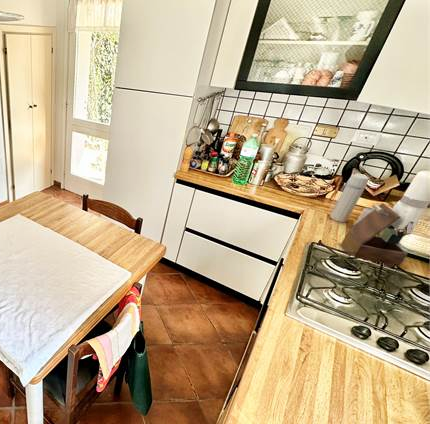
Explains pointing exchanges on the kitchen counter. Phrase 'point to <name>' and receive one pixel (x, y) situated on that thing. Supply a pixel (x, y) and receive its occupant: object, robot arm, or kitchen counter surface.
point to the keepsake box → (374, 250)
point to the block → (388, 234)
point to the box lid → (373, 223)
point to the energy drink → (364, 213)
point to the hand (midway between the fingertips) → (389, 239)
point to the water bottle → (348, 197)
